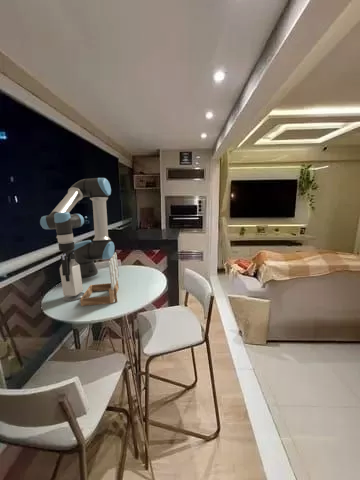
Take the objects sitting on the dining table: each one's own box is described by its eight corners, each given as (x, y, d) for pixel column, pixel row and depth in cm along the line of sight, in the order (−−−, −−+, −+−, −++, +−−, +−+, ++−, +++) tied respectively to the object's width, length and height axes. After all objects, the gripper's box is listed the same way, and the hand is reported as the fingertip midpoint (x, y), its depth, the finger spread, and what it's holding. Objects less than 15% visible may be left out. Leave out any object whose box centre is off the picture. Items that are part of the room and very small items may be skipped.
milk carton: (75, 296, 134) (70, 261, 130) (63, 296, 135) (58, 261, 132) (83, 291, 141) (78, 257, 137) (71, 290, 142) (66, 257, 139)
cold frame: (91, 290, 146) (86, 254, 142) (122, 287, 147) (118, 252, 144) (81, 306, 126) (75, 264, 122) (116, 302, 127) (112, 261, 124)
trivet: (67, 294, 143) (66, 293, 143) (87, 292, 144) (87, 291, 144) (59, 302, 133) (59, 301, 132) (81, 300, 133) (81, 299, 133)
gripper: (65, 239, 143) (71, 278, 147) (50, 247, 122) (57, 292, 126) (79, 238, 144) (84, 276, 148) (66, 245, 123) (73, 290, 127)
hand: (72, 283), depth 137 cm, fingers open, 8 cm apart
